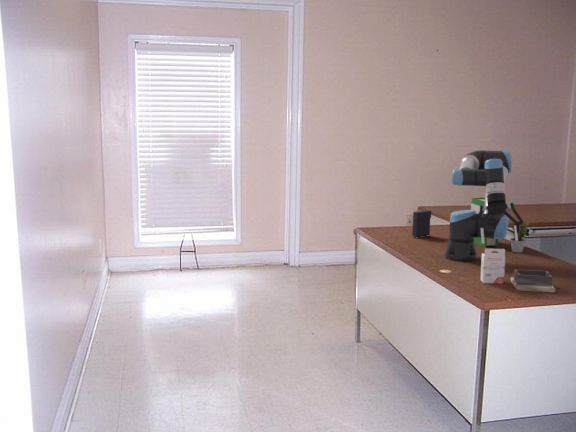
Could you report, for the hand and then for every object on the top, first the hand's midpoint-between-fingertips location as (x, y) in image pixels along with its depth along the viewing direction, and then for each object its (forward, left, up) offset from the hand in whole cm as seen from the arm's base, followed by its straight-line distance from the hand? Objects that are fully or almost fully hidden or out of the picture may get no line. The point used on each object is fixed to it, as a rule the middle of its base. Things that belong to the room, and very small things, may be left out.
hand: (499, 242), depth 232 cm
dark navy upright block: (-76, -31, -15) cm, 83 cm away
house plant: (-50, +17, -15) cm, 55 cm away
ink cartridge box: (+10, -4, -15) cm, 19 cm away
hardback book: (-65, +2, -15) cm, 67 cm away
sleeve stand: (+13, +11, -15) cm, 23 cm away
